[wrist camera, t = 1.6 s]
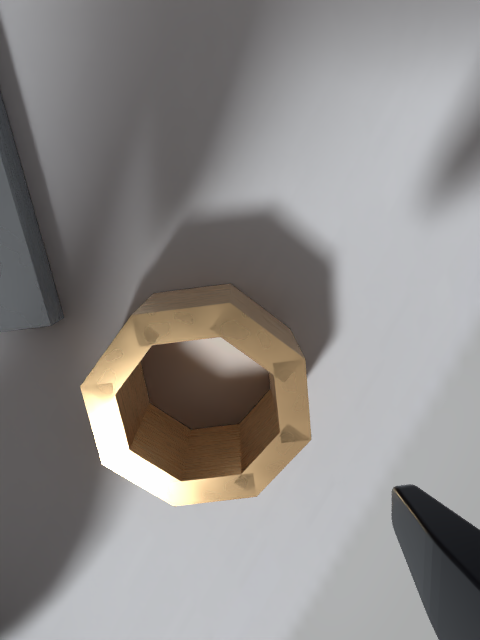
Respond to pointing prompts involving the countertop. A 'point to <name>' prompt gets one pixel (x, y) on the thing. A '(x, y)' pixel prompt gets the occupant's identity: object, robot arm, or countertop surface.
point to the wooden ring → (205, 443)
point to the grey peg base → (21, 248)
